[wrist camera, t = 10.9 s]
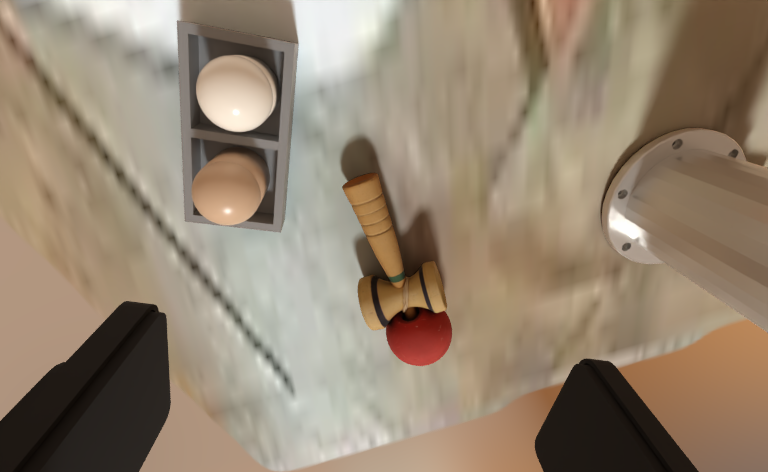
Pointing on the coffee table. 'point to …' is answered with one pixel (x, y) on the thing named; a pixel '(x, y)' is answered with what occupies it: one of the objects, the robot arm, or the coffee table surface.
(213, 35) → the carton
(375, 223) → the kendama
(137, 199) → the coffee table surface
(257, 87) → the egg
